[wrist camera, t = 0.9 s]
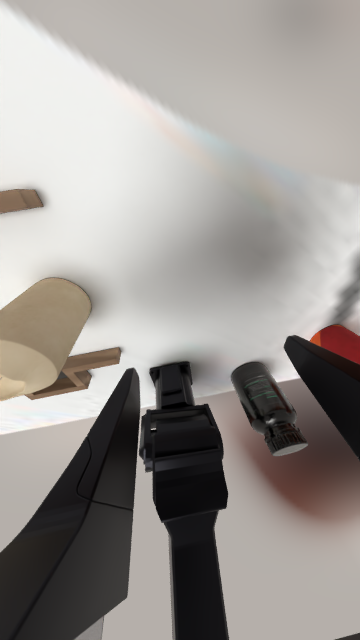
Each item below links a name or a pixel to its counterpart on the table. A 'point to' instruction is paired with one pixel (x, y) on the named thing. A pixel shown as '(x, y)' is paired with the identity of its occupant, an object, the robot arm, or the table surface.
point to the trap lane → (75, 366)
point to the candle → (39, 335)
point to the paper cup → (339, 342)
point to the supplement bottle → (268, 408)
